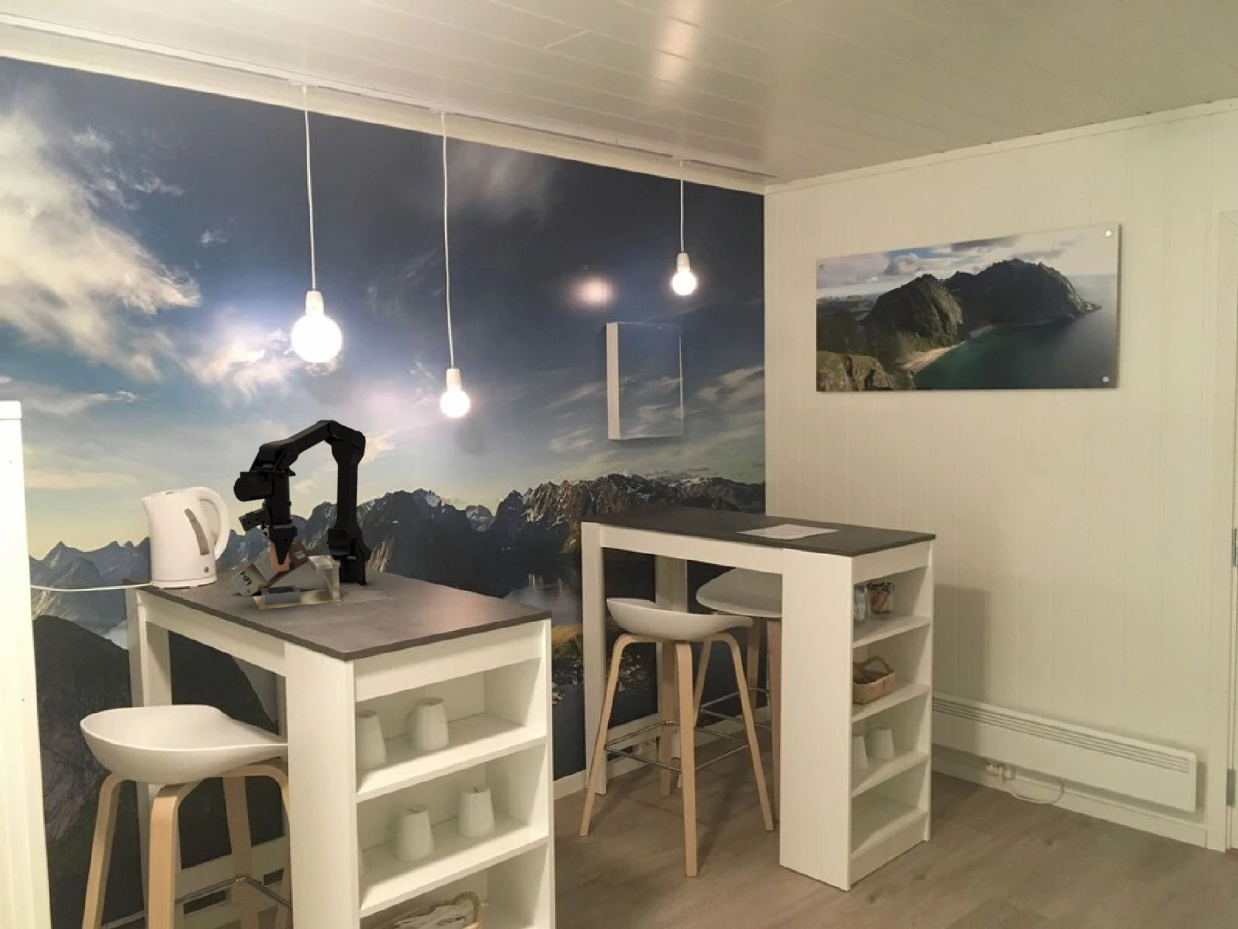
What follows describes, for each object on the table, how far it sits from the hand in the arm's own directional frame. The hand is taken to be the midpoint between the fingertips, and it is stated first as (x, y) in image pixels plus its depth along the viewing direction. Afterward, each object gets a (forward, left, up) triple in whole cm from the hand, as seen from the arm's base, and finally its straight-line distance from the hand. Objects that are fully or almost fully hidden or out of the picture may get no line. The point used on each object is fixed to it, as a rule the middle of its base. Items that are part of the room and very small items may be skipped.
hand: (279, 563), depth 229 cm
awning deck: (-3, 0, -10) cm, 10 cm away
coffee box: (+6, -15, -7) cm, 18 cm away
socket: (0, 0, -9) cm, 9 cm away
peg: (0, 0, -2) cm, 2 cm away
